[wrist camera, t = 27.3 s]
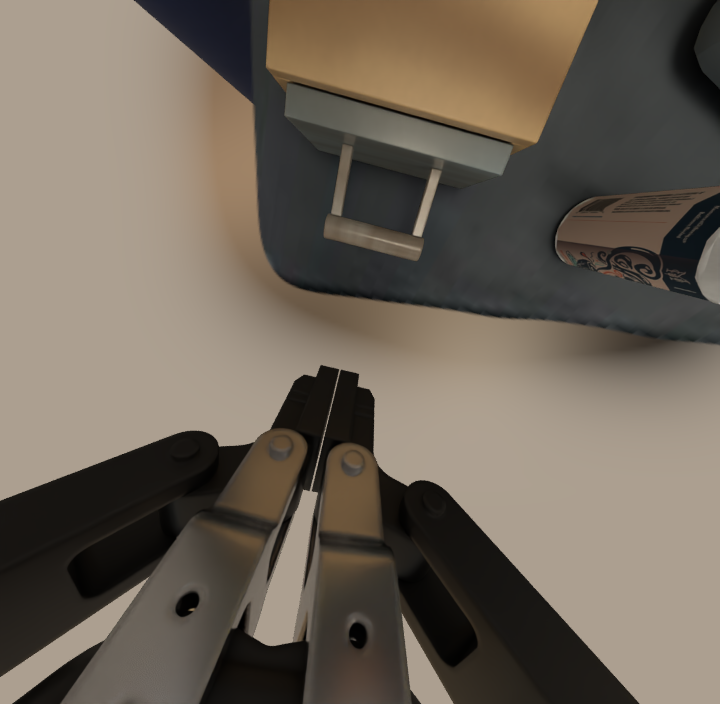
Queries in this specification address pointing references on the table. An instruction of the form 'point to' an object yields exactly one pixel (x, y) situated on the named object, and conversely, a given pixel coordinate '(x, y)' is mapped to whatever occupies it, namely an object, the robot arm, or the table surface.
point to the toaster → (710, 45)
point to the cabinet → (434, 57)
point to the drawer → (390, 158)
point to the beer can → (649, 239)
